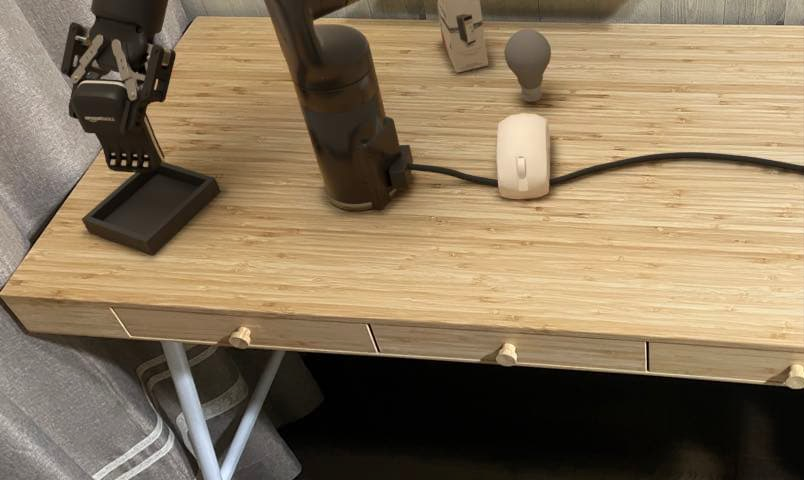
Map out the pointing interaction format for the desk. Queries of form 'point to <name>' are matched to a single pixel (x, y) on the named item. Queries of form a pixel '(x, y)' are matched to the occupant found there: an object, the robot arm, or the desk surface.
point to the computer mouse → (523, 156)
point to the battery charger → (115, 126)
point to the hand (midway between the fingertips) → (103, 126)
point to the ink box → (463, 33)
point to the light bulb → (528, 61)
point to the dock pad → (151, 207)
